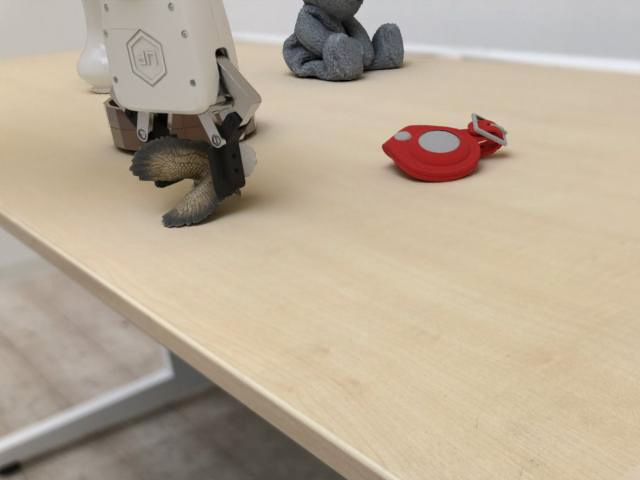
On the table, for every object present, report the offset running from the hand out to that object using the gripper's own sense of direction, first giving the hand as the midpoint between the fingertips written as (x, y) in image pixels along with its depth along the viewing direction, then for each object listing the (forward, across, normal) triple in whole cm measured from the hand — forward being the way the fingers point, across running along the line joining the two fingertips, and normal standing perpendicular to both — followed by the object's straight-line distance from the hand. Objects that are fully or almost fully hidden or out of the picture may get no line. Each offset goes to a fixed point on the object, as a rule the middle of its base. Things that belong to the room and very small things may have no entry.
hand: (200, 185), depth 69 cm
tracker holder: (+2, +15, +18) cm, 23 cm away
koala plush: (+2, -29, +63) cm, 69 cm away
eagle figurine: (+2, 0, 0) cm, 2 cm away
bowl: (+2, -21, +20) cm, 29 cm away
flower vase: (+2, -57, +42) cm, 71 cm away
